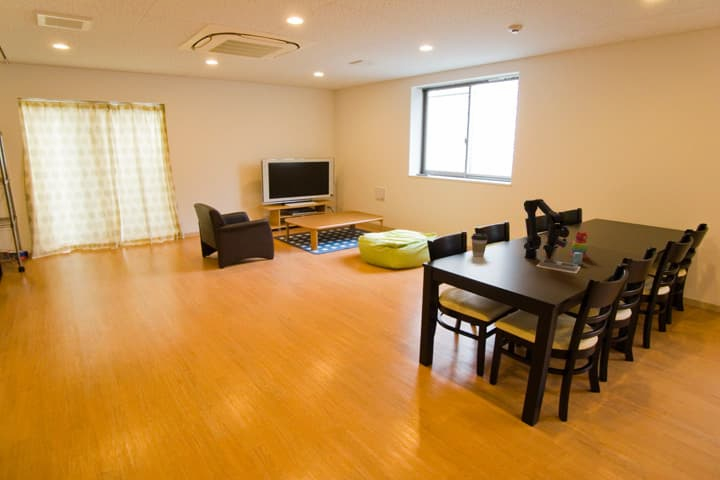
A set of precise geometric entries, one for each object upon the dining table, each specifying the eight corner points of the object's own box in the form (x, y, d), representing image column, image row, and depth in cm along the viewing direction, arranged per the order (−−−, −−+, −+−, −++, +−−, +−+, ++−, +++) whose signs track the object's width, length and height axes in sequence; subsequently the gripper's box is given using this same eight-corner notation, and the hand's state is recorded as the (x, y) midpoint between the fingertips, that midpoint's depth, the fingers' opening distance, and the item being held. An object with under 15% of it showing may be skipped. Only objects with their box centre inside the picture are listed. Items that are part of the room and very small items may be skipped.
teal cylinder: (572, 263, 264) (573, 253, 262) (573, 262, 268) (574, 251, 266) (580, 265, 261) (582, 254, 259) (581, 263, 265) (583, 253, 263)
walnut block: (545, 260, 258) (546, 250, 257) (546, 258, 262) (548, 248, 260) (553, 262, 255) (554, 251, 254) (555, 260, 259) (556, 249, 258)
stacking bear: (576, 259, 274) (580, 233, 269) (566, 255, 283) (569, 230, 279) (590, 258, 276) (594, 233, 271) (580, 254, 285) (583, 229, 281)
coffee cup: (487, 258, 275) (489, 237, 271) (470, 257, 277) (471, 236, 273) (485, 254, 285) (487, 233, 282) (469, 253, 288) (470, 232, 284)
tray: (536, 266, 258) (536, 262, 257) (541, 261, 269) (542, 257, 268) (576, 273, 244) (576, 269, 244) (580, 267, 255) (581, 264, 255)
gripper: (564, 238, 243) (560, 263, 247) (570, 233, 257) (567, 256, 261) (544, 236, 249) (541, 260, 253) (551, 230, 264) (548, 254, 267)
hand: (550, 258), depth 258 cm, fingers closed on walnut block, 5 cm apart
